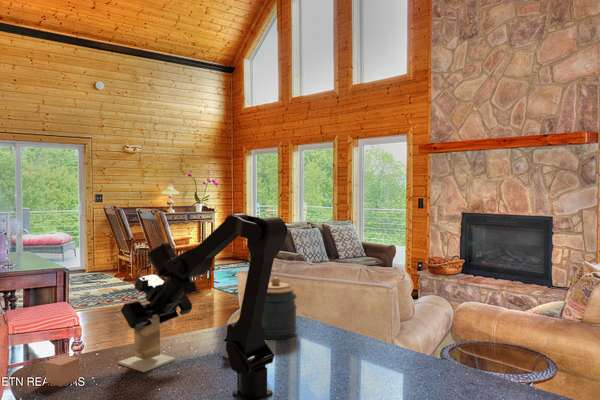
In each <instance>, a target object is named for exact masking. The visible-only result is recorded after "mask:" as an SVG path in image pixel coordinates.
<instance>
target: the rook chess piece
mask: <svg viewBox="0 0 600 400" xmlns="http://www.w3.org/2000/svg"><path fill="white" fill-rule="evenodd" d="M227 327H228V325H227V326H225V330H224V331H225V333H226V334H225V337H226V336H227ZM222 352H223V353H222V356H223V357H224V358H225V359H227V360H229V357H228V354H227V351H226V345H225V346H224V348H223V350H222Z"/></svg>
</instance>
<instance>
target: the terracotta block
mask: <svg viewBox="0 0 600 400" xmlns="http://www.w3.org/2000/svg"><path fill="white" fill-rule="evenodd" d="M77 380H80V358H79V357H75V356H69V355H61V356H58V357H55V358H53V359H50V360H47V361H45V383H46V382H48V383H51V384H50V385H52V384H54V385H53V386H57V385H58V386H57V387H63V385H64V386H66V385H68V384H70V382H71V383H73V382H75V381H77ZM72 381H73V382H72ZM48 383H47V384H48ZM67 383H68V384H67ZM65 384H66V385H65Z"/></svg>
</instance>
